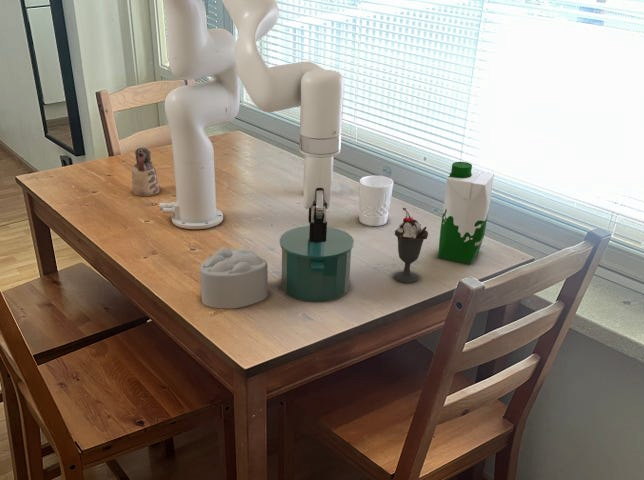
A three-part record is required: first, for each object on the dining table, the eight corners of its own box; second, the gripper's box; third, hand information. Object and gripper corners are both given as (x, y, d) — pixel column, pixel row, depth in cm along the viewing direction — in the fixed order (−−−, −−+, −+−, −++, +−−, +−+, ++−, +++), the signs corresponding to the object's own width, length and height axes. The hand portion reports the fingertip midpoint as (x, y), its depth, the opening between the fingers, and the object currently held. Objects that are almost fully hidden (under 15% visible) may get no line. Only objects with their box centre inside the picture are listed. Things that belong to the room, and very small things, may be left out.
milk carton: (444, 243, 164) (456, 157, 152) (484, 251, 160) (500, 163, 149) (432, 258, 157) (444, 169, 146) (473, 267, 153) (489, 176, 142)
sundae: (386, 271, 152) (392, 204, 144) (417, 269, 153) (425, 202, 144) (393, 285, 147) (401, 216, 139) (426, 284, 147) (435, 215, 139)
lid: (279, 261, 137) (279, 231, 133) (280, 230, 149) (280, 202, 145) (356, 262, 136) (358, 232, 133) (350, 231, 148) (352, 202, 145)
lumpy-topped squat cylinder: (273, 297, 143) (273, 258, 139) (215, 314, 138) (213, 274, 133) (247, 277, 151) (246, 239, 146) (192, 292, 145) (189, 253, 141)
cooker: (281, 308, 140) (281, 264, 135) (282, 264, 156) (282, 223, 150) (351, 309, 139) (354, 264, 134) (345, 265, 155) (348, 224, 150)
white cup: (388, 228, 171) (392, 188, 166) (355, 226, 172) (358, 185, 167) (390, 215, 178) (394, 176, 172) (358, 213, 179) (361, 174, 173)
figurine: (162, 187, 196) (158, 143, 189) (155, 197, 190) (150, 152, 183) (137, 186, 197) (132, 142, 190) (129, 195, 191) (124, 151, 184)
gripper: (299, 129, 139) (297, 214, 148) (300, 158, 124) (298, 250, 134) (338, 129, 138) (334, 214, 148) (343, 158, 124) (338, 250, 133)
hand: (317, 231), depth 141 cm, fingers open, 8 cm apart
